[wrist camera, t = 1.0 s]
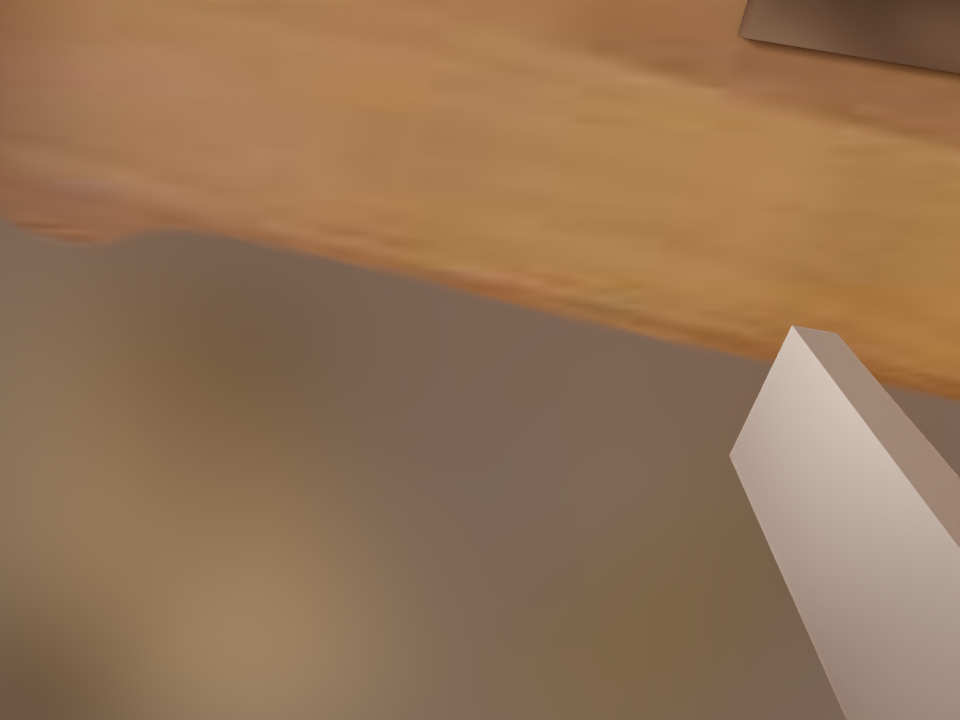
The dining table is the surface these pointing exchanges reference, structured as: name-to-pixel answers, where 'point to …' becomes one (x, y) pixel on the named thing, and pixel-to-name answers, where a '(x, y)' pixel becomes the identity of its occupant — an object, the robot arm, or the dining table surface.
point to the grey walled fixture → (863, 28)
